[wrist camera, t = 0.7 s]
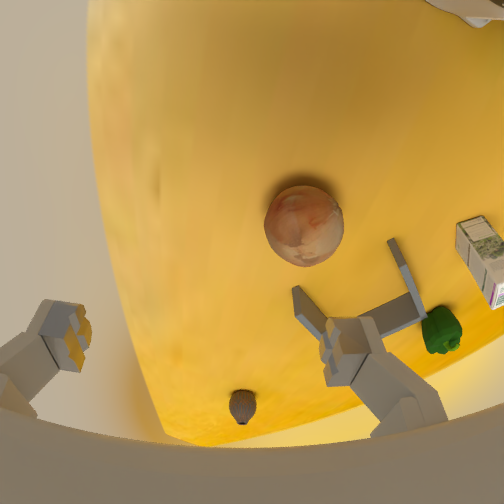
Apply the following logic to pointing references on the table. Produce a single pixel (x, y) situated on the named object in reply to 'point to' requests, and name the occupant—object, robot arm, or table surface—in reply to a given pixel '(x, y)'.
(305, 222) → the onion
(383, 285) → the table surface
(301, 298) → the box
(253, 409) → the vase
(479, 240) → the syrup box
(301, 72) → the table surface
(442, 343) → the bell pepper
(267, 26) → the table surface
